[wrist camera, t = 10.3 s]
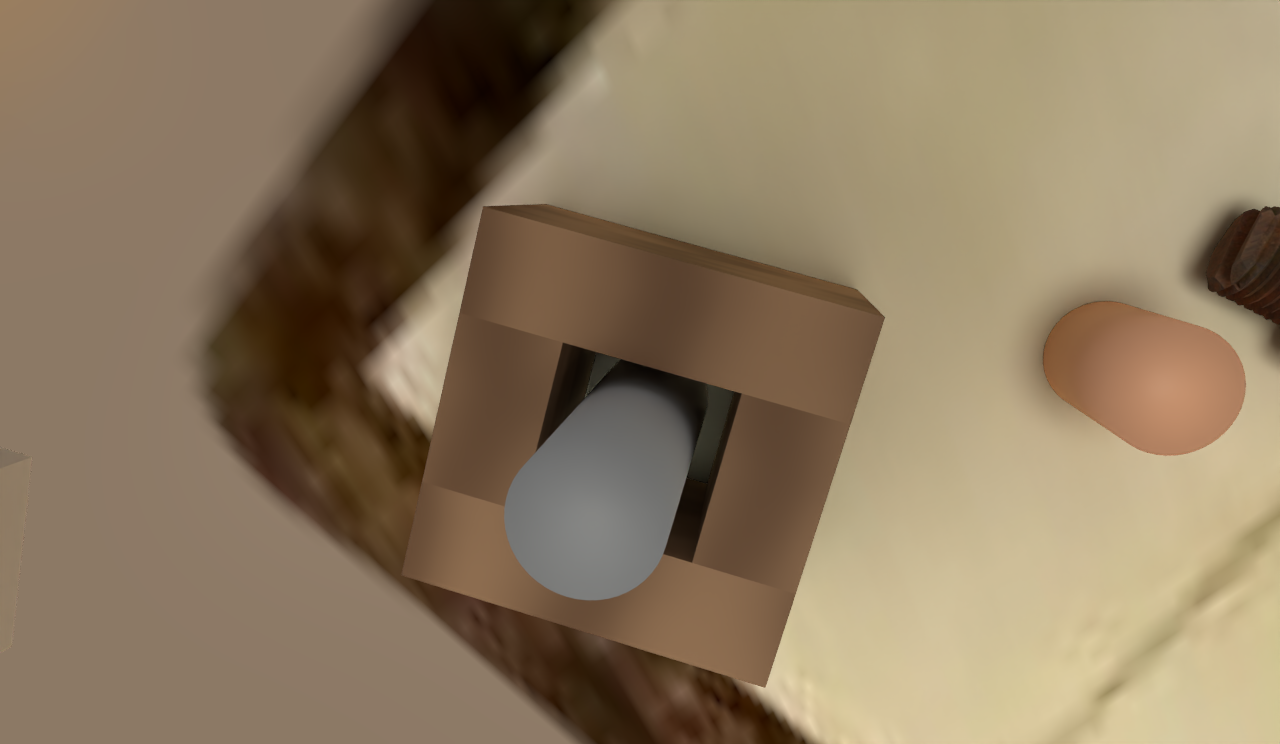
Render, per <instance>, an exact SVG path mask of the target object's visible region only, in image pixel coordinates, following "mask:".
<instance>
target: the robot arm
mask: <svg viewBox="0 0 1280 744" xmlns="http://www.w3.org/2000/svg"><path fill="white" fill-rule="evenodd" d="M31 466H32V456H28V455H25V454H22V453H18V452H15V451H12V450H8V449H5V448H2V447H0V653H1V652H3V651H5V650H6V649H8V648H10V647H11V646H12V641H13V632H14V623H15V613H16V605H17V595H18V586H19V577H20V567H21V558H22V549H23V540H24V531H25V522H26V512H27V503H28V494H29V485H30V484H29V483H30V475H31Z"/></svg>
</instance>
